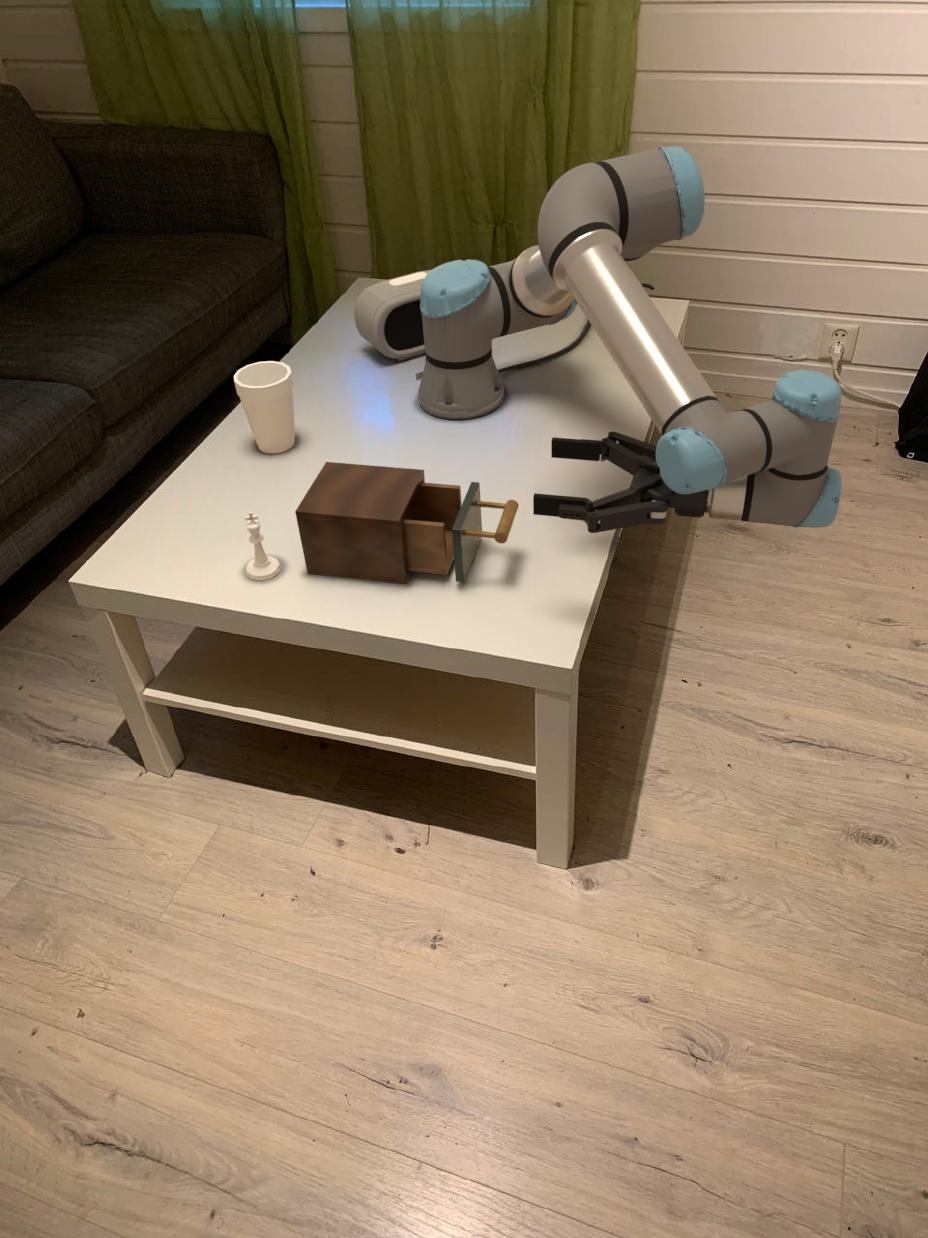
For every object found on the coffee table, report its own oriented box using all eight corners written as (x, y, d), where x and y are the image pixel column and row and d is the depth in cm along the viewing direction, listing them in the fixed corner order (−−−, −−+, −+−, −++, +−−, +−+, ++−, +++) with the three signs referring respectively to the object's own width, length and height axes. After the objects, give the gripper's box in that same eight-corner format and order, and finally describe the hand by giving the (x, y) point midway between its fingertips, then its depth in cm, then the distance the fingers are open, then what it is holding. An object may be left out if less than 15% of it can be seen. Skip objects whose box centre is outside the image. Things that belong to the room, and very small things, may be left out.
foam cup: (293, 460, 168) (279, 389, 159) (241, 456, 169) (224, 386, 161) (310, 431, 175) (298, 362, 166) (260, 428, 176) (246, 359, 168)
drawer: (521, 537, 146) (520, 485, 140) (505, 586, 138) (504, 534, 132) (393, 525, 150) (387, 474, 144) (370, 572, 142) (362, 520, 136)
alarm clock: (380, 369, 191) (372, 301, 182) (358, 351, 197) (350, 284, 188) (473, 340, 198) (470, 274, 189) (449, 324, 204) (445, 258, 196)
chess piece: (248, 561, 147) (234, 504, 140) (281, 557, 147) (269, 500, 140) (245, 581, 143) (230, 524, 137) (279, 578, 143) (266, 521, 137)
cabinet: (429, 531, 150) (424, 469, 143) (406, 584, 141) (399, 521, 134) (336, 522, 153) (326, 461, 146) (307, 573, 144) (295, 511, 137)
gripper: (700, 572, 120) (525, 554, 125) (711, 461, 138) (558, 449, 143) (707, 521, 115) (525, 504, 120) (717, 412, 133) (558, 402, 138)
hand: (542, 474), depth 131 cm, fingers open, 13 cm apart
